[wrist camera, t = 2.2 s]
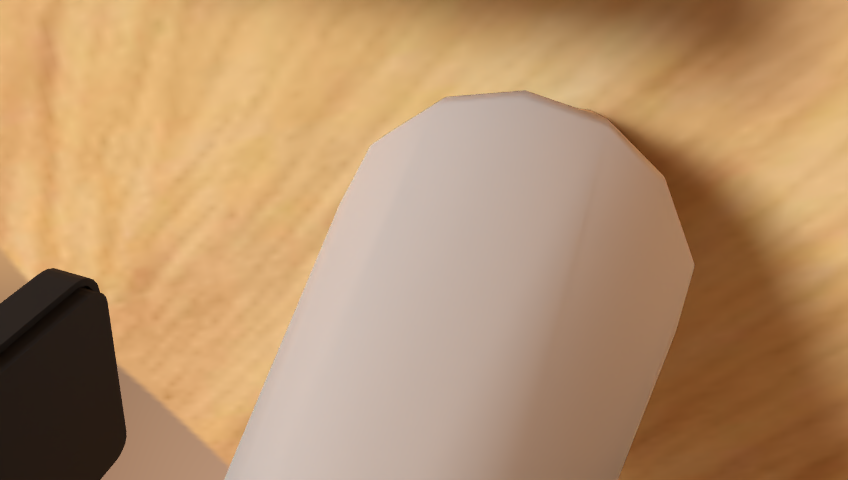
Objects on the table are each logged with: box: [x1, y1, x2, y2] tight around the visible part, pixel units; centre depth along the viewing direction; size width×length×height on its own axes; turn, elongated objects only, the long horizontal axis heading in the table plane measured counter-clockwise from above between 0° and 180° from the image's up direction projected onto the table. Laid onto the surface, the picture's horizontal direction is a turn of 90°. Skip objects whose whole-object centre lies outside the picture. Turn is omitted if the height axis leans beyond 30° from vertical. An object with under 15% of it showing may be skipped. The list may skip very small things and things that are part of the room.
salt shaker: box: [224, 91, 695, 480], centre depth 9 cm, size 6×6×13 cm
